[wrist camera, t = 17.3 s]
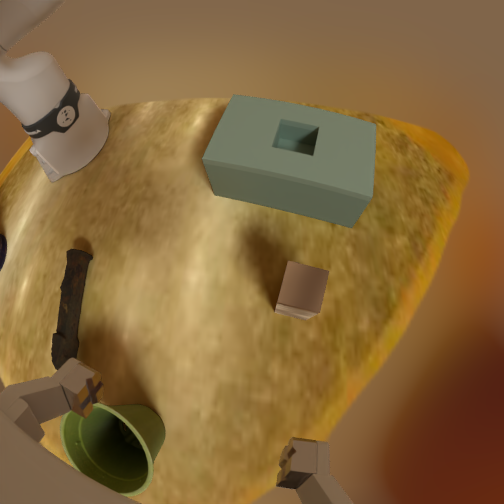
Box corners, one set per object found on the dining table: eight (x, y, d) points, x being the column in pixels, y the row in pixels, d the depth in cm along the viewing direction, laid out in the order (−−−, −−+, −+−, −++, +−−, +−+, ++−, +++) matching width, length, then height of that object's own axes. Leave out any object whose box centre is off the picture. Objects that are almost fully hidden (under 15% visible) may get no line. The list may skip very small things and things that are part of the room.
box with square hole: (214, 195, 40) (201, 158, 32) (239, 134, 43) (233, 94, 35) (351, 228, 37) (372, 197, 29) (359, 161, 41) (376, 124, 32)
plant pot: (136, 472, 28) (98, 503, 17) (94, 405, 31) (45, 417, 21) (200, 448, 29) (175, 484, 19) (153, 374, 33) (109, 384, 22)
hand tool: (78, 254, 39) (61, 244, 35) (96, 256, 39) (79, 247, 34) (60, 368, 34) (42, 369, 29) (78, 376, 33) (59, 377, 29)
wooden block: (274, 312, 35) (277, 301, 25) (282, 282, 36) (288, 260, 26) (305, 320, 34) (319, 312, 25) (312, 289, 35) (329, 270, 26)
